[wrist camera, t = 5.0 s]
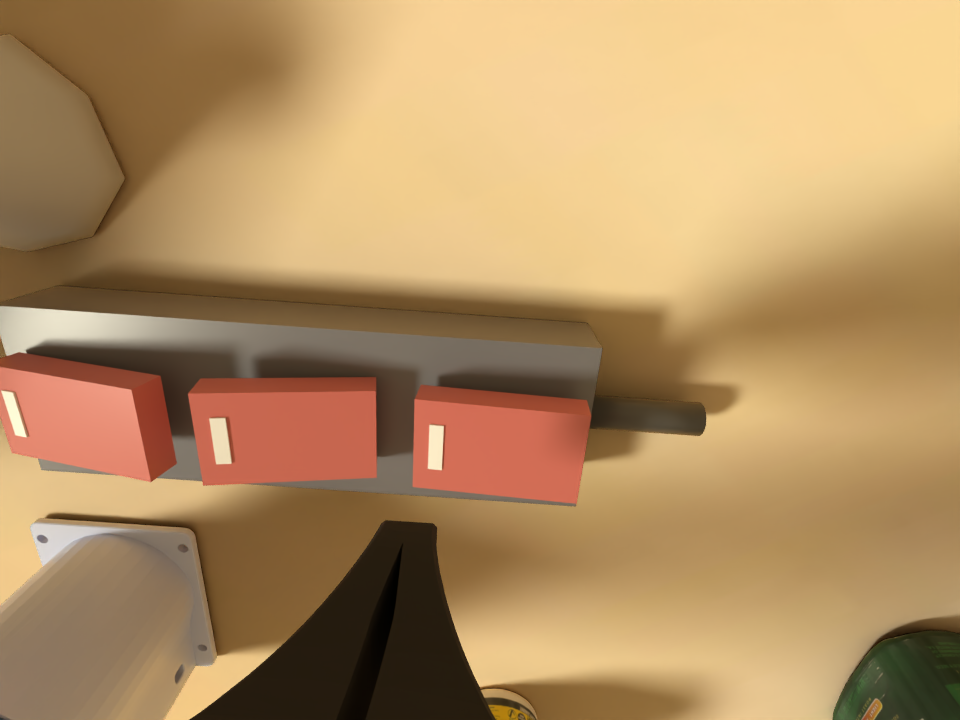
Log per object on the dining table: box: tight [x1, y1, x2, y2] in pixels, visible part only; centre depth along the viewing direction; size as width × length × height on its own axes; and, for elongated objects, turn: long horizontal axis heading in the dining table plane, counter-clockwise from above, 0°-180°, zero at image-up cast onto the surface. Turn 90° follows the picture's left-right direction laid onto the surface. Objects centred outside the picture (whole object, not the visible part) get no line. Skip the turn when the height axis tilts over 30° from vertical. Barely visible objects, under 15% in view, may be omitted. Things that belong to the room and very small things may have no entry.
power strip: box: [0, 286, 706, 506], centre depth 20 cm, size 7×27×3 cm, turn 86°
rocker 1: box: [0, 352, 177, 482], centre depth 18 cm, size 4×6×1 cm, turn 86°
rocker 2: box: [188, 377, 377, 485], centre depth 18 cm, size 4×6×1 cm, turn 86°
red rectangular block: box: [413, 385, 591, 504], centre depth 18 cm, size 4×6×1 cm, turn 86°
